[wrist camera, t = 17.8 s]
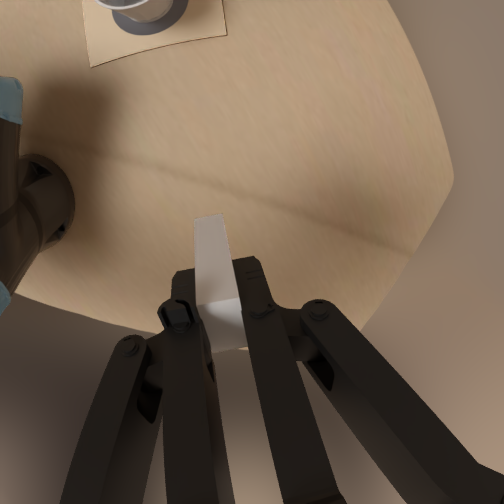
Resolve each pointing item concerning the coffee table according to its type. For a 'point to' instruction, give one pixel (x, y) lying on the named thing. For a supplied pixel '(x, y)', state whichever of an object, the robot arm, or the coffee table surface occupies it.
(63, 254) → the coffee table surface
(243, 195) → the coffee table surface
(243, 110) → the coffee table surface
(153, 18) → the cup
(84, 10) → the sheet
